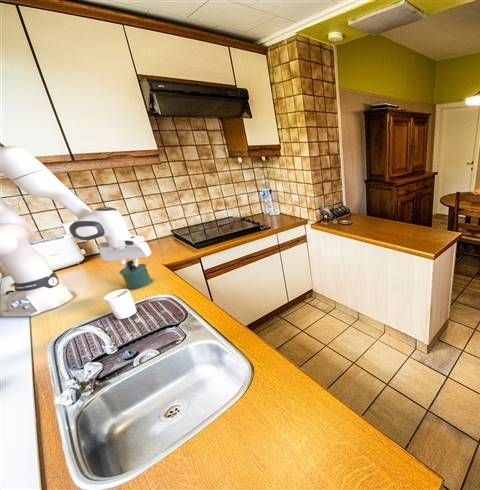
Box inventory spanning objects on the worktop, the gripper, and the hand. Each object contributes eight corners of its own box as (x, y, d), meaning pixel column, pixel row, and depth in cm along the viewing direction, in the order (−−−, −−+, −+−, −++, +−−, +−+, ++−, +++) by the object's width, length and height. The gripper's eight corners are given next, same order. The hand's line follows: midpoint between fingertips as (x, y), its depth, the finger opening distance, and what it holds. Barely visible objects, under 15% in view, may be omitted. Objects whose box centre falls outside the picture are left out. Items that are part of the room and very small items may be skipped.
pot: (123, 290, 130) (116, 275, 127) (136, 280, 139) (129, 266, 135) (144, 288, 131) (137, 273, 128) (155, 278, 140) (149, 264, 136)
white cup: (124, 321, 107) (113, 300, 103) (109, 319, 109) (98, 299, 105) (143, 309, 114) (133, 289, 110) (128, 307, 116) (119, 288, 112)
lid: (114, 277, 126) (110, 267, 124) (129, 267, 136) (125, 258, 134) (138, 274, 128) (133, 264, 125) (151, 264, 137) (147, 255, 135)
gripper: (90, 245, 121) (104, 272, 127) (138, 241, 124) (149, 267, 129) (101, 240, 127) (113, 266, 133) (147, 236, 129) (157, 261, 135)
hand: (132, 266), depth 131 cm, fingers closed on lid, 2 cm apart
